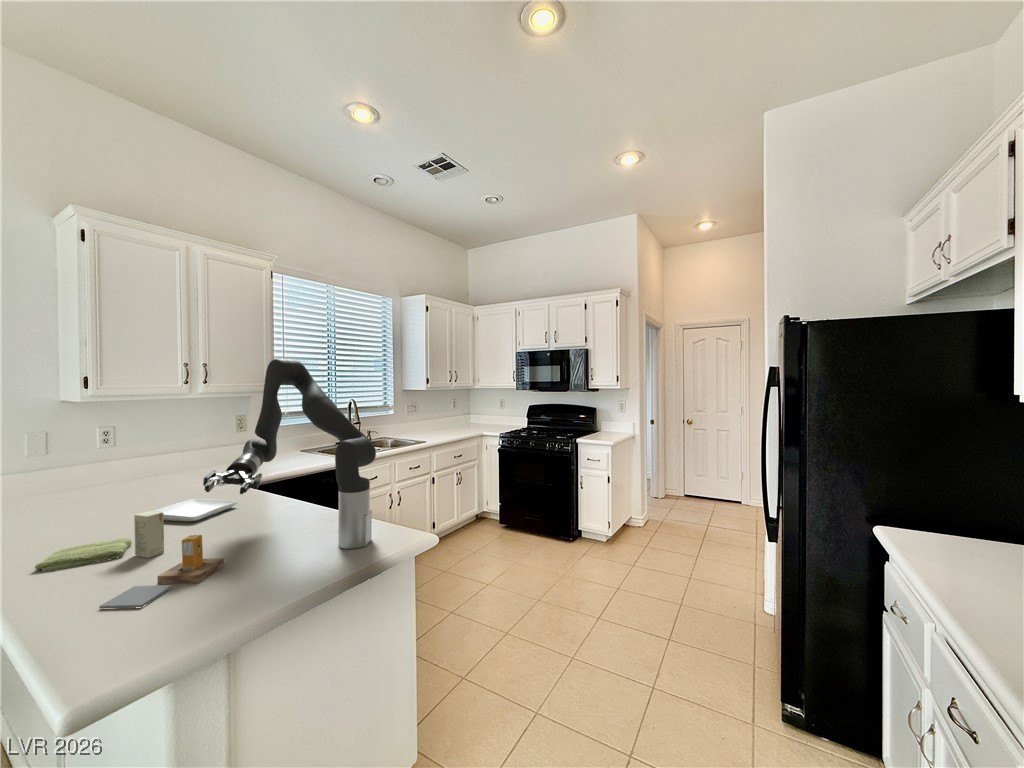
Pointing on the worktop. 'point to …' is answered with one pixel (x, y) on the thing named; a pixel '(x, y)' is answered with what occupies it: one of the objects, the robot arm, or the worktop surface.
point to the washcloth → (84, 554)
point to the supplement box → (192, 553)
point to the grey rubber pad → (136, 596)
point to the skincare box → (149, 534)
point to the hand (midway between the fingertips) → (224, 490)
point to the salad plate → (195, 509)
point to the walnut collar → (191, 572)
